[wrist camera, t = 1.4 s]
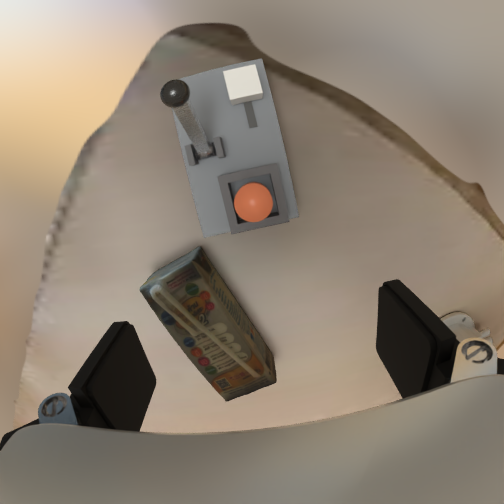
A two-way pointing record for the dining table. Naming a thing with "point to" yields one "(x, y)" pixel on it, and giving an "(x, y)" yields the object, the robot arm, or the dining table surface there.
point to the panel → (235, 153)
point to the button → (253, 202)
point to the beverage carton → (210, 325)
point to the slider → (243, 84)
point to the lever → (187, 117)
